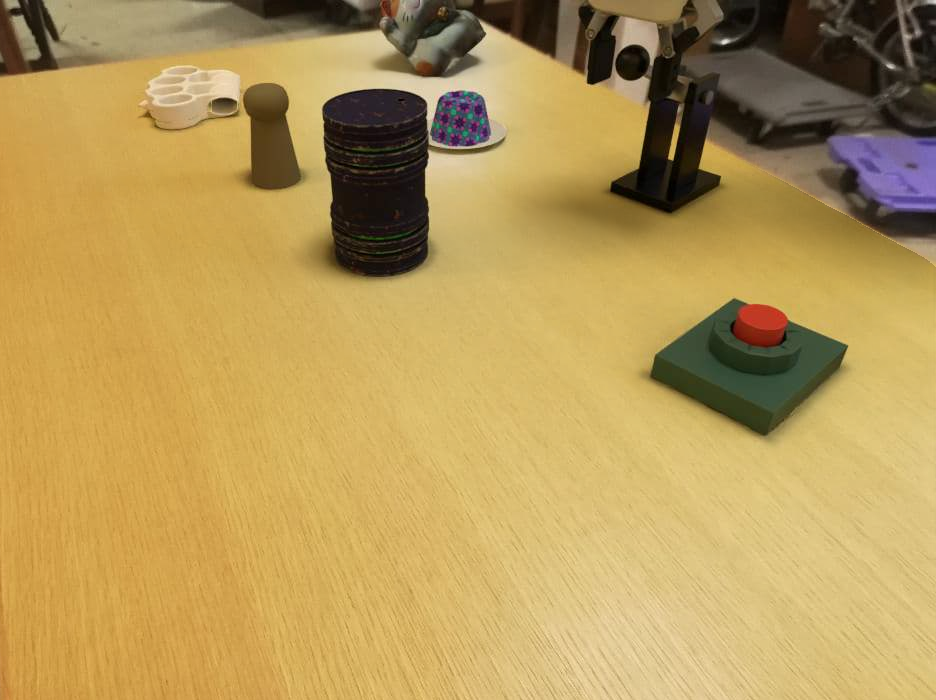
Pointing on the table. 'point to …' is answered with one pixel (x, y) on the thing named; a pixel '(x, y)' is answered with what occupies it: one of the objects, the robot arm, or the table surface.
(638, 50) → the lever
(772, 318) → the button
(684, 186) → the bracket
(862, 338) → the table surface
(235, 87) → the white brass knuckles
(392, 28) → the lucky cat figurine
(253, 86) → the brown pawn
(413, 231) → the dark purple cylinder
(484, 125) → the pudding
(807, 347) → the button box
